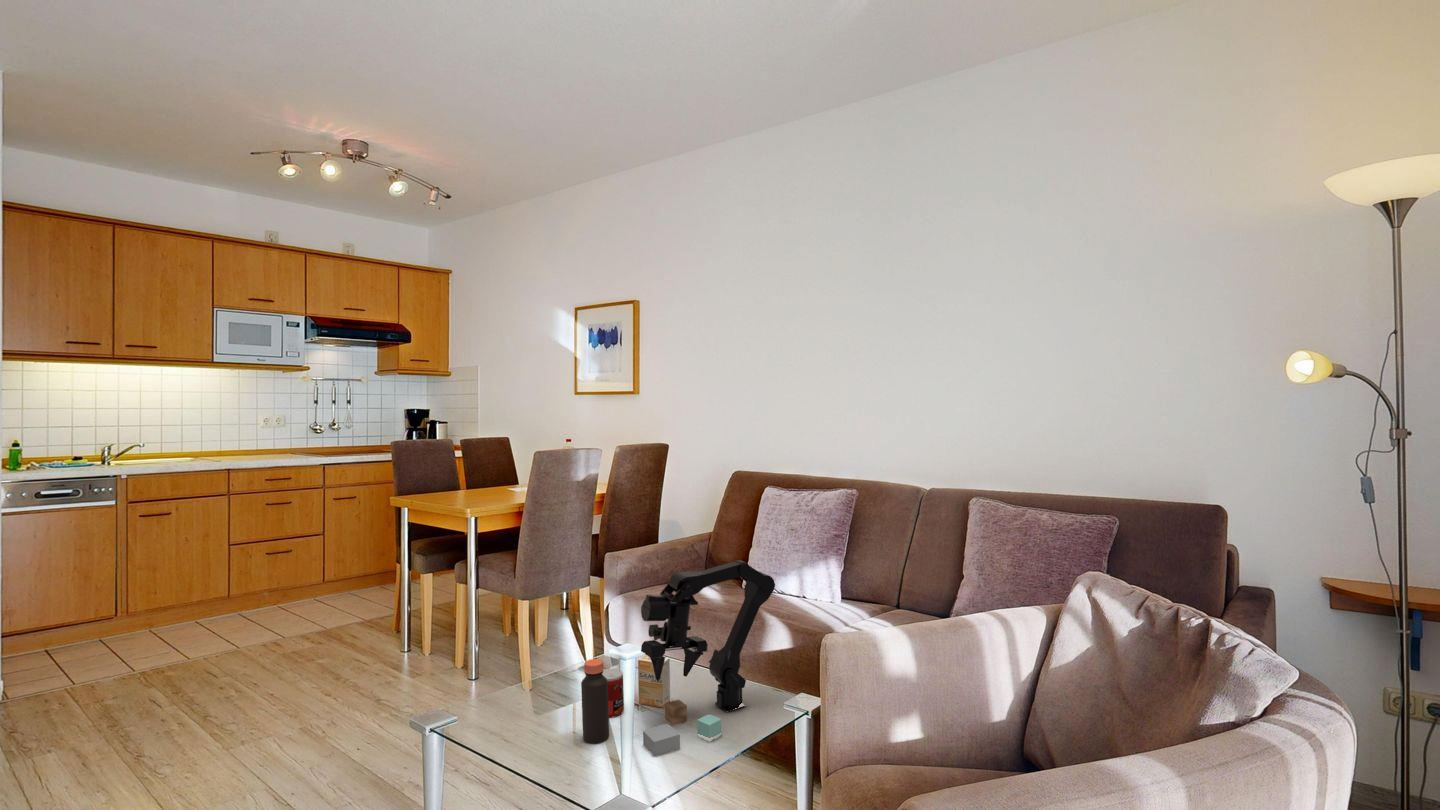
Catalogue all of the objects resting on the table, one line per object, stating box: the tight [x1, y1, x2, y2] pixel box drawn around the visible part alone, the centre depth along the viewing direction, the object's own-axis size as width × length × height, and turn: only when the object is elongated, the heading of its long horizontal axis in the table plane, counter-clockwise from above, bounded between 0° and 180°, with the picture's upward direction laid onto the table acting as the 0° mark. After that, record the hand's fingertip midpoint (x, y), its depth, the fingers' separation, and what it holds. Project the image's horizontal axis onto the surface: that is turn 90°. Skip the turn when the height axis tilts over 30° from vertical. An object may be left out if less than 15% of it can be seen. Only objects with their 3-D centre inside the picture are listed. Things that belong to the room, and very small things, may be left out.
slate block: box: [642, 723, 681, 758], centre depth 189 cm, size 7×7×4 cm
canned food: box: [602, 668, 625, 719], centre depth 209 cm, size 8×8×11 cm
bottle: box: [580, 658, 610, 744], centre depth 194 cm, size 7×7×20 cm
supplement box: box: [637, 653, 671, 709], centre depth 214 cm, size 8×5×13 cm, turn 67°
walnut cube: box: [664, 698, 688, 727], centre depth 203 cm, size 4×4×4 cm
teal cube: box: [696, 713, 723, 738], centre depth 194 cm, size 4×4×4 cm
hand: (671, 678), depth 202 cm, fingers open, 9 cm apart
